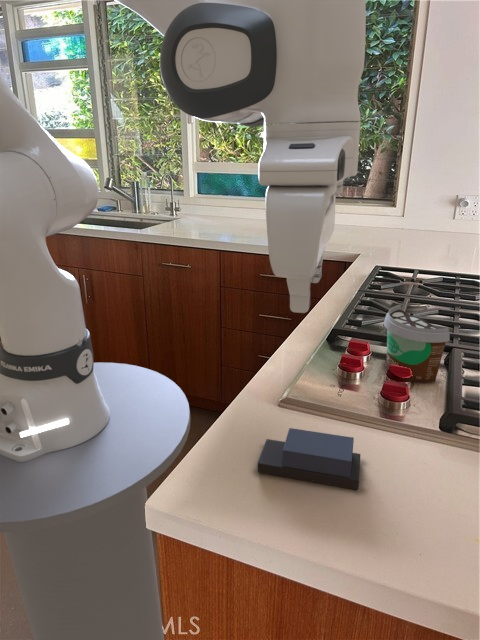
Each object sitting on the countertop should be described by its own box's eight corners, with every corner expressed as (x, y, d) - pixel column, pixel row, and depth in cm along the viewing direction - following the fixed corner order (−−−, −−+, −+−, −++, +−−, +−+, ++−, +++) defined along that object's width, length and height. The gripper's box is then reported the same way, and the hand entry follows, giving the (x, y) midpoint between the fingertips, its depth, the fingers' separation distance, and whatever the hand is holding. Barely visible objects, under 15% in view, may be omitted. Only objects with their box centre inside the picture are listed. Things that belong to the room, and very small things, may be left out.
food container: (364, 360, 84) (369, 308, 80) (392, 354, 86) (399, 303, 82) (411, 393, 73) (419, 335, 69) (441, 385, 75) (451, 329, 71)
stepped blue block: (257, 472, 57) (257, 447, 55) (266, 447, 61) (266, 423, 60) (358, 490, 54) (360, 464, 52) (359, 462, 58) (362, 437, 57)
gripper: (295, 152, 54) (293, 266, 59) (252, 165, 36) (255, 328, 41) (350, 151, 52) (343, 269, 58) (335, 164, 34) (327, 334, 39)
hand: (306, 294), depth 49 cm, fingers open, 8 cm apart
